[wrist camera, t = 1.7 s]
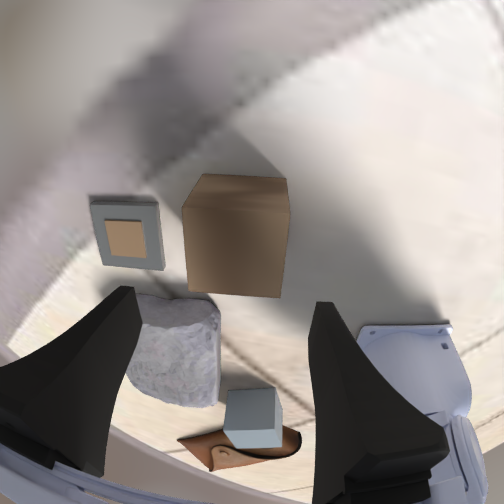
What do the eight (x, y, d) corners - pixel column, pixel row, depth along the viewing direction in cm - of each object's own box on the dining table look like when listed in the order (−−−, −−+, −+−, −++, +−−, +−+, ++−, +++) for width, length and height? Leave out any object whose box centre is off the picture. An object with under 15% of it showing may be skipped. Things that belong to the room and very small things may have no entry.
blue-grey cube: (275, 386, 30) (274, 428, 26) (282, 408, 32) (282, 446, 28) (228, 389, 31) (223, 430, 26) (240, 411, 33) (236, 448, 29)
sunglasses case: (259, 413, 33) (277, 463, 29) (291, 405, 38) (307, 449, 34) (173, 440, 40) (185, 478, 37) (206, 435, 46) (218, 470, 42)
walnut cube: (286, 178, 18) (290, 213, 14) (279, 249, 21) (280, 298, 17) (203, 173, 18) (181, 207, 14) (205, 244, 21) (188, 291, 17)
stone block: (144, 358, 32) (229, 385, 30) (123, 389, 28) (214, 422, 26) (123, 270, 26) (231, 296, 24) (91, 302, 22) (208, 338, 20)
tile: (158, 202, 20) (154, 207, 19) (165, 265, 22) (162, 272, 22) (93, 201, 20) (88, 205, 19) (106, 260, 22) (102, 266, 22)
